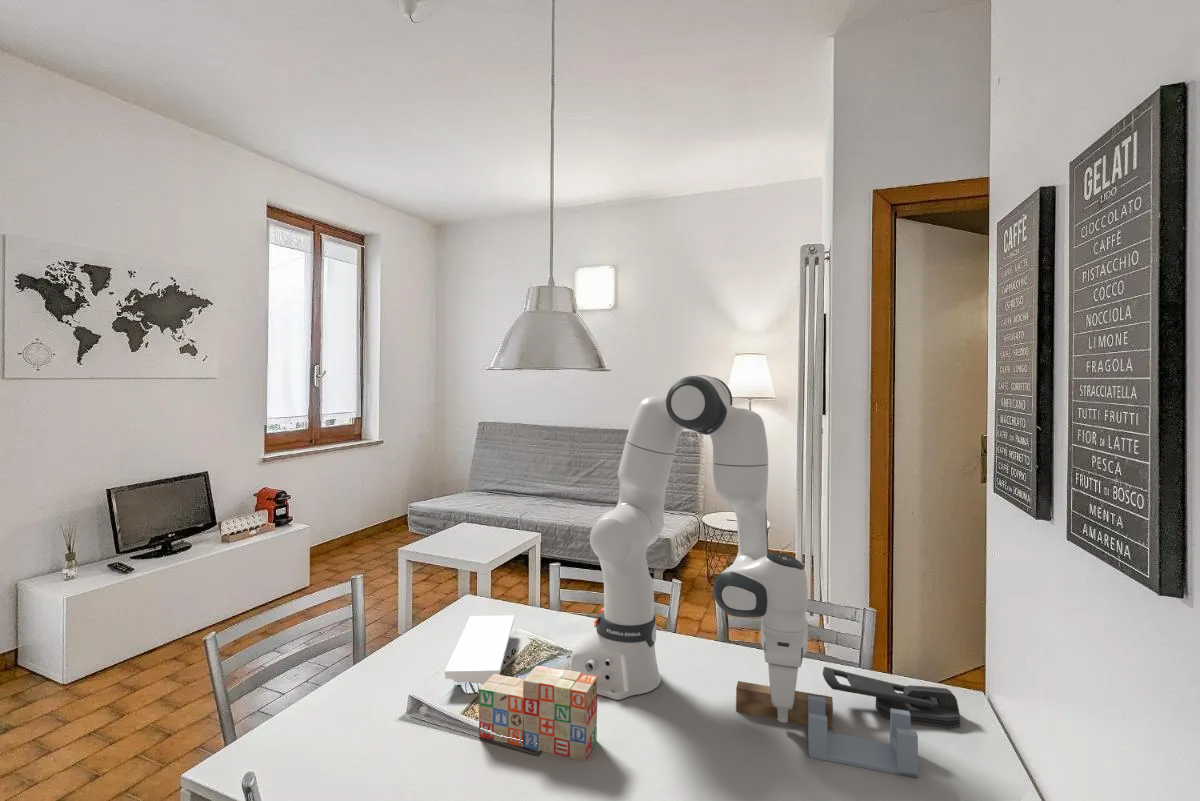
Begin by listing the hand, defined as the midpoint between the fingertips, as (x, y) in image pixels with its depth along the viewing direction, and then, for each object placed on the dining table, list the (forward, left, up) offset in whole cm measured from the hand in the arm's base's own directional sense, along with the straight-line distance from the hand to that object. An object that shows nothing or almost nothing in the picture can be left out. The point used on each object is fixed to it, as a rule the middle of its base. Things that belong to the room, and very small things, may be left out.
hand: (783, 707), depth 114 cm
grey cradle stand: (+13, -8, -2) cm, 15 cm away
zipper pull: (+20, +9, -2) cm, 22 cm away
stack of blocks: (-43, -23, -2) cm, 48 cm away
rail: (0, 0, -2) cm, 2 cm away
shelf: (-68, +1, -2) cm, 68 cm away
